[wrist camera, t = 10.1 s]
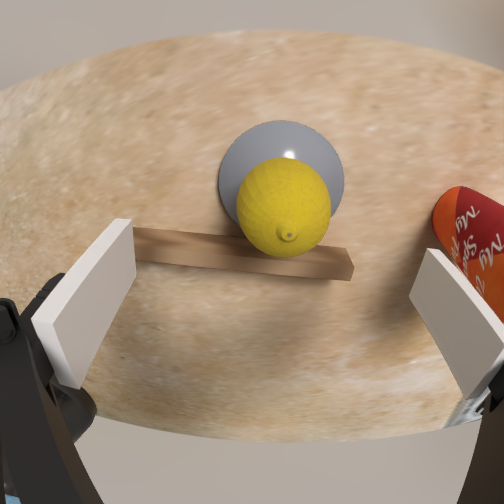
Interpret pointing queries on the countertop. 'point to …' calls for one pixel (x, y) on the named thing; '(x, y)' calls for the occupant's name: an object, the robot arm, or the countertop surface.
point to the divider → (237, 255)
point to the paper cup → (474, 240)
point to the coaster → (279, 146)
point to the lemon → (283, 207)
